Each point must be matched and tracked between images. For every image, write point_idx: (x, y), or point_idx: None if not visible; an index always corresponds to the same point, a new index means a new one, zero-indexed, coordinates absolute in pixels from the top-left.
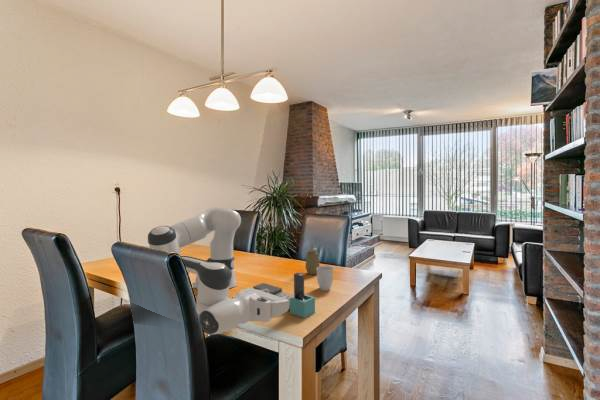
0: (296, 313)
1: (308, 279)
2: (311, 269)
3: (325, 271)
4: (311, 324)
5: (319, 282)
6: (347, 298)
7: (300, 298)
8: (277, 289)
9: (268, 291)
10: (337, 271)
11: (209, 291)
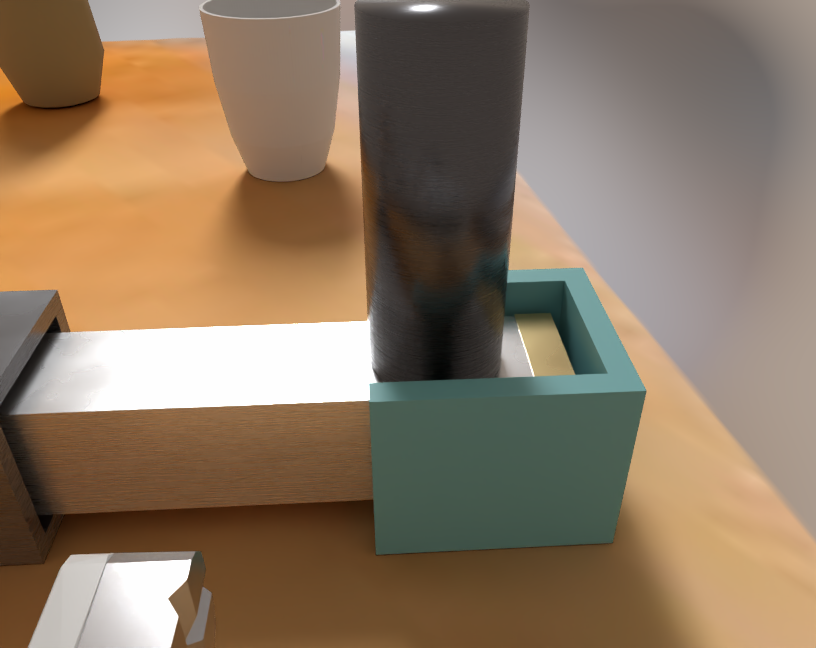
0: (487, 533)
1: (83, 139)
2: (60, 67)
3: (310, 22)
4: (813, 602)
5: (260, 129)
6: (525, 187)
7: (496, 347)
8: (14, 328)
9: (188, 622)
10: (197, 59)
11: None
